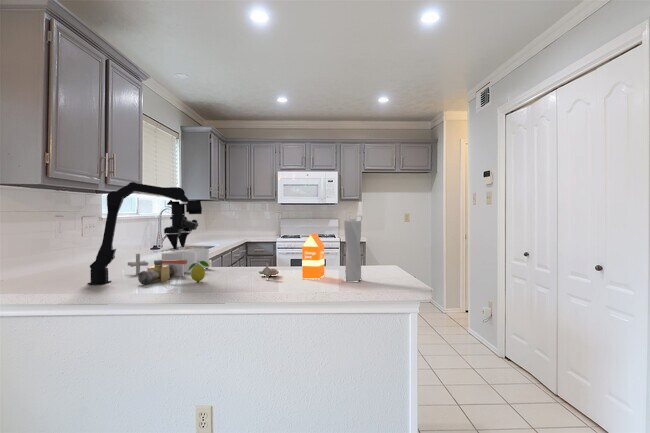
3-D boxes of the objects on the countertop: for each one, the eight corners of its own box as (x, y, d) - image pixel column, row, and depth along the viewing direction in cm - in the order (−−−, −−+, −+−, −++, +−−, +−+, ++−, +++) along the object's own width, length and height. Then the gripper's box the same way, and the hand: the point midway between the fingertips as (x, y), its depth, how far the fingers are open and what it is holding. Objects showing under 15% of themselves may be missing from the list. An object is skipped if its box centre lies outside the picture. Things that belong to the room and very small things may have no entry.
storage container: (190, 268, 195) (190, 248, 195) (208, 269, 193) (208, 249, 193) (161, 276, 171) (161, 253, 171) (182, 276, 169) (182, 253, 169)
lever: (152, 264, 156) (152, 260, 156) (157, 263, 159) (157, 259, 159) (183, 264, 154) (183, 260, 154) (188, 263, 158) (187, 259, 158)
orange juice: (302, 279, 156) (301, 234, 156) (308, 276, 165) (308, 233, 165) (318, 280, 154) (318, 234, 154) (324, 276, 163) (324, 233, 163)
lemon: (209, 281, 153) (209, 258, 153) (198, 284, 148) (198, 260, 148) (198, 280, 156) (198, 257, 156) (187, 282, 151) (187, 259, 151)
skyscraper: (364, 279, 154) (364, 215, 154) (361, 282, 146) (360, 215, 147) (345, 278, 157) (345, 215, 157) (341, 282, 149) (341, 215, 149)
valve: (274, 279, 154) (253, 281, 156) (284, 280, 166) (263, 282, 168) (274, 262, 156) (252, 263, 158) (283, 264, 167) (263, 266, 169)
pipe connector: (153, 272, 182) (153, 252, 182) (141, 275, 172) (141, 254, 172) (135, 272, 183) (134, 252, 183) (122, 275, 173) (121, 254, 173)
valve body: (152, 284, 147) (151, 267, 147) (137, 284, 148) (137, 267, 148) (177, 276, 167) (177, 261, 167) (164, 276, 167) (164, 261, 167)
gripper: (188, 214, 156) (189, 249, 156) (202, 214, 175) (202, 245, 175) (163, 214, 156) (164, 250, 156) (179, 214, 174) (180, 246, 174)
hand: (179, 248), depth 165 cm, fingers open, 9 cm apart
